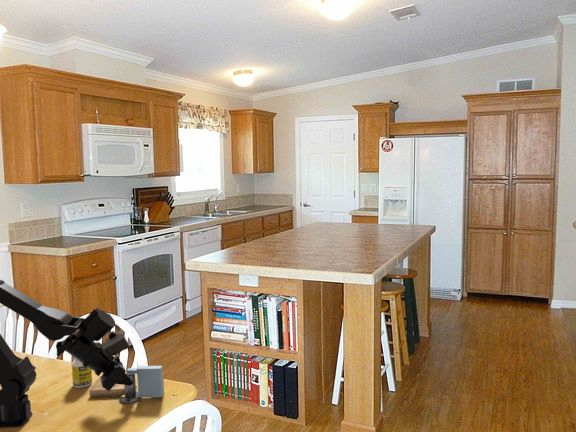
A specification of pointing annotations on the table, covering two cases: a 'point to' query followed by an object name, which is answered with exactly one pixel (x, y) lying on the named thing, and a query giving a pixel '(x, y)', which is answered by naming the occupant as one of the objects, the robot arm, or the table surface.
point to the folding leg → (148, 380)
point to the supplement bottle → (81, 374)
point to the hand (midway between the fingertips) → (131, 383)
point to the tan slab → (117, 391)
